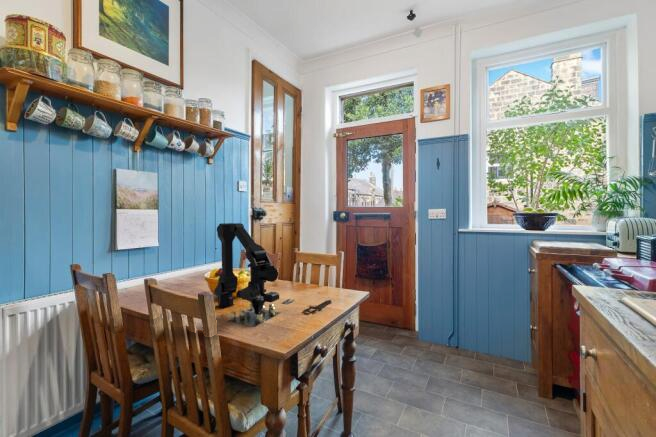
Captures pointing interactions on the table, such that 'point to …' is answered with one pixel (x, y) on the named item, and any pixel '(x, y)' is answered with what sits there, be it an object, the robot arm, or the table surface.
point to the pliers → (287, 301)
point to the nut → (250, 313)
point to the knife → (316, 307)
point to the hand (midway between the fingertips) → (257, 314)
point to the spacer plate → (254, 321)
